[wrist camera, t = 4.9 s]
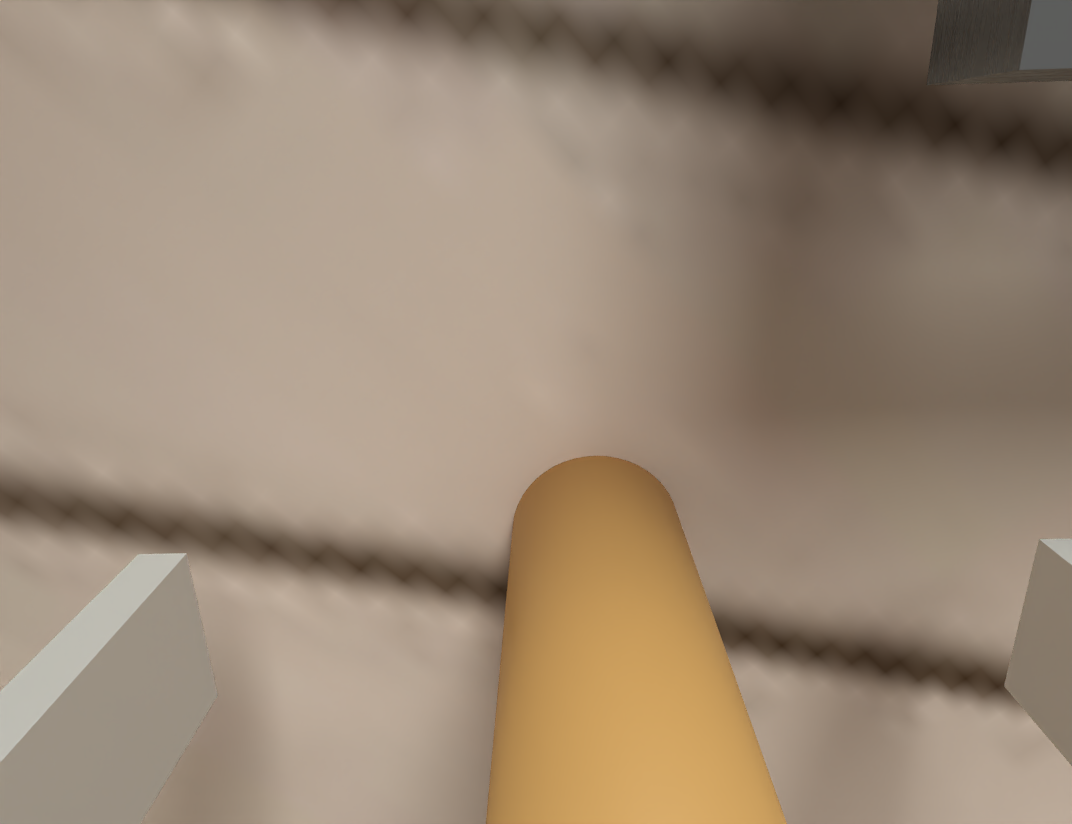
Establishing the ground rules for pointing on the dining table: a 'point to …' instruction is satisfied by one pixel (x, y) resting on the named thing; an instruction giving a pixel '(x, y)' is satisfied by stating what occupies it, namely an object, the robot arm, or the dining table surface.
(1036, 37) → the grey toggle clamp
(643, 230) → the dining table surface
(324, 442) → the dining table surface
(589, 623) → the orange rounded rod
